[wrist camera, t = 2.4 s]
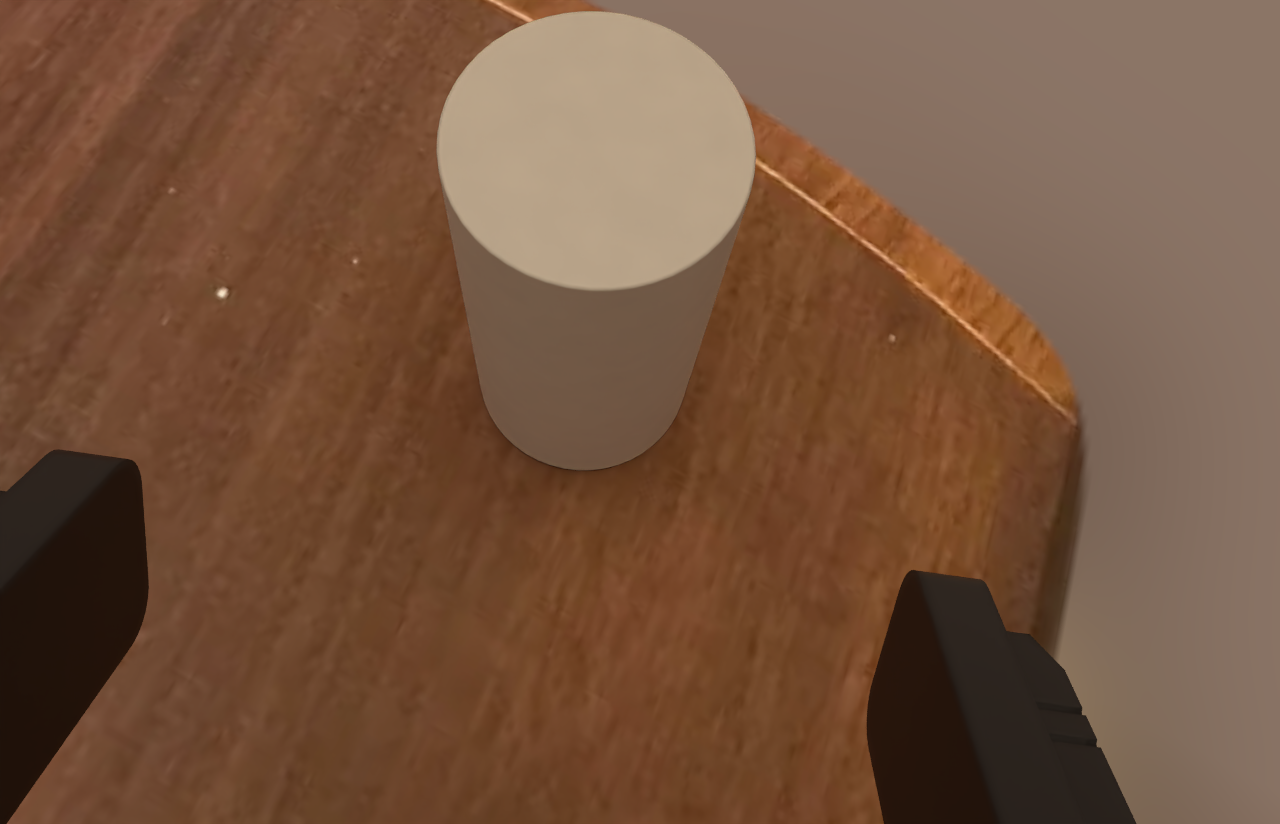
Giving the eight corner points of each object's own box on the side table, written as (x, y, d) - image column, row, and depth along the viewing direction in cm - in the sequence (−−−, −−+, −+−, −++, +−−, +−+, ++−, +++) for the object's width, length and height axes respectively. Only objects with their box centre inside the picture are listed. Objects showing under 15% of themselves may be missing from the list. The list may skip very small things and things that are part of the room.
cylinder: (710, 312, 25) (791, 62, 16) (651, 498, 23) (706, 332, 15) (519, 252, 25) (499, -27, 16) (449, 433, 23) (388, 232, 15)
